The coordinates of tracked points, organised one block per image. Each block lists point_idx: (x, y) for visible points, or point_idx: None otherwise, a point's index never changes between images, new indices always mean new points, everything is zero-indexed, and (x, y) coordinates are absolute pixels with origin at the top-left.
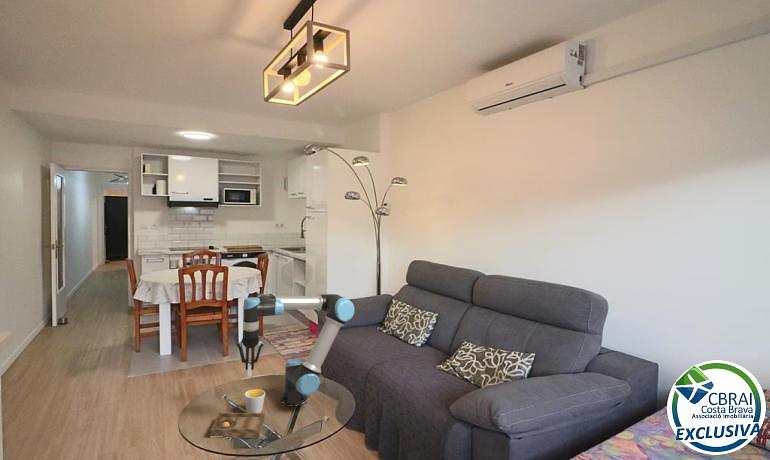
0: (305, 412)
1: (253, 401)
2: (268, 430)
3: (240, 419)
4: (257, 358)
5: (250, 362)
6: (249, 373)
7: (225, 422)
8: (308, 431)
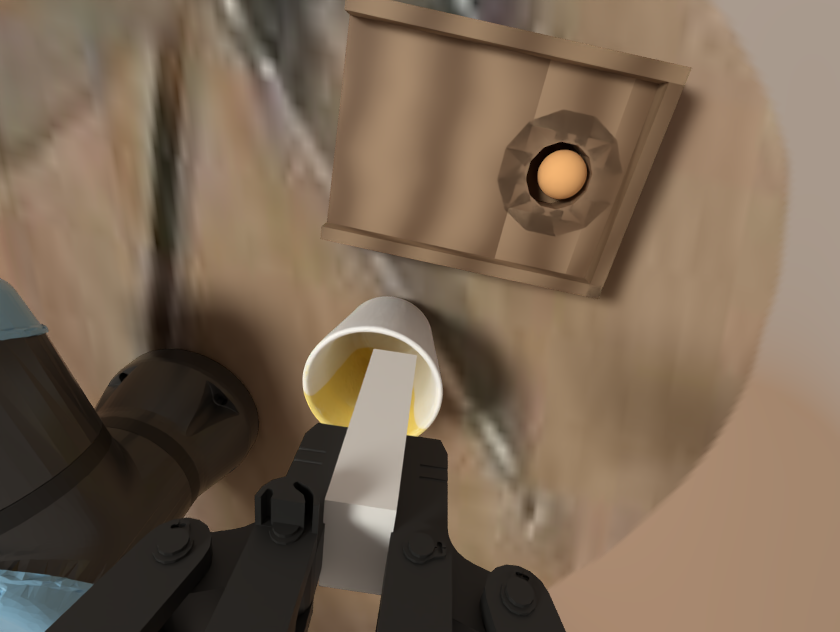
0: (113, 273)
1: (384, 319)
2: (303, 99)
3: (470, 221)
4: (83, 622)
5: (344, 574)
6: (385, 379)
7: (570, 175)
8: (53, 26)
